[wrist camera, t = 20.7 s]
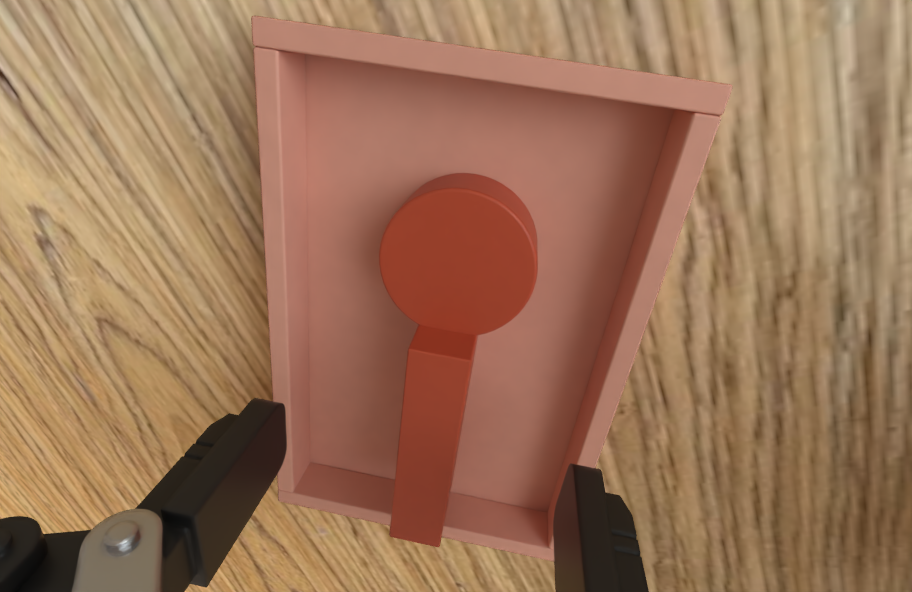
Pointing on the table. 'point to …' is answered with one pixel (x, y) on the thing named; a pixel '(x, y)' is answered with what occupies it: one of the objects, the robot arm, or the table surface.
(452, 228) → the spoon red
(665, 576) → the table surface
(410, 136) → the tray pink
